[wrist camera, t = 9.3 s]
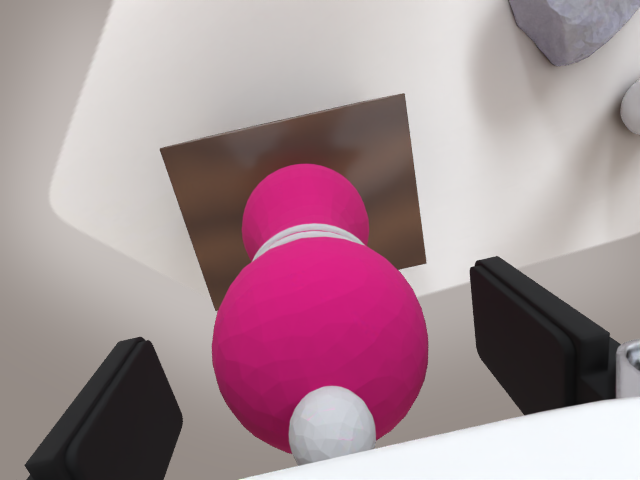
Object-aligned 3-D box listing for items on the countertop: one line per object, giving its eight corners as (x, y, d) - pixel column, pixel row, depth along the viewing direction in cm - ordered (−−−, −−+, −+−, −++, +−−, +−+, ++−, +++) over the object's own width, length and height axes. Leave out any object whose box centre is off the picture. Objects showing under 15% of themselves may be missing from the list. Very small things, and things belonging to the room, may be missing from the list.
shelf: (202, 137, 35) (159, 148, 24) (367, 100, 35) (404, 92, 24) (237, 253, 39) (215, 311, 28) (386, 220, 39) (426, 263, 28)
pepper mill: (280, 274, 27) (254, 641, 8) (230, 185, 25) (36, 407, 6) (371, 232, 27) (568, 520, 8) (329, 137, 24) (461, 213, 5)
